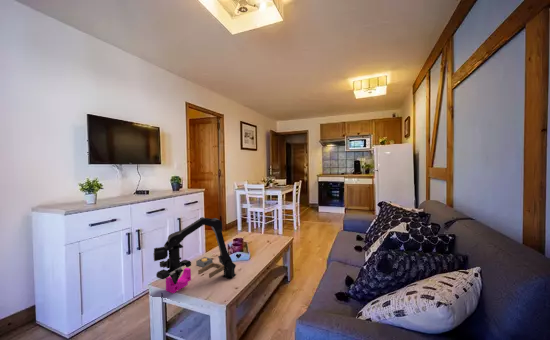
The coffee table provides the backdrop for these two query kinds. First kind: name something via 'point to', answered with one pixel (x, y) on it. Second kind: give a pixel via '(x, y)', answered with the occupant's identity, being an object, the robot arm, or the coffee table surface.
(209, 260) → the button housing
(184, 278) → the toy block
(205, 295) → the coffee table surface
